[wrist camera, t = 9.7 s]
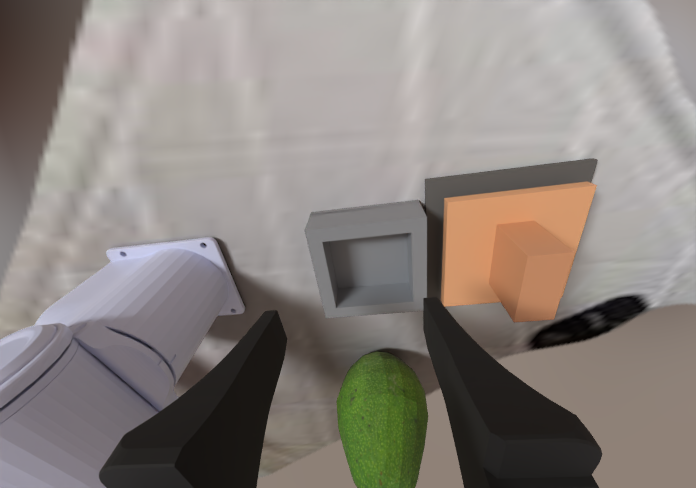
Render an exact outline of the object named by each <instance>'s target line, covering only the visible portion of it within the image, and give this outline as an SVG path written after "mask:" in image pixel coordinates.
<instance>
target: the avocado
mask: <svg viewBox="0 0 696 488" xmlns="http://www.w3.org/2000/svg"><path fill="white" fill-rule="evenodd" d="M337 414H338V428H339V432H340V436H341V440H342V443H343V447H344V451H345V454H346V458H347V461H348V464H349V468H350V471H351V474H352V477H353V480H354V483H355V485H356V486H357V488H415V486H416V483H417V479H418V475H419V469H420V464H421V460H422V455H423V450H424V445H425V437H426V430H427V422H428V412H427V404H426V397H425V392H424V389H423V387H422V386H421V384H420V382H419V380H418V378H417V376H416V374H415V372H414V371H413V370H412V369H411V368H410V367H409V366H408V365H406V364H405V363H404V362H403V361H402V360H401V359H399V358H397V357H396V356H394V355H392V354H390V353H387V352H372V353H369V354H366V355H364V356H362V357H361V358H360V359H359V360H358V361H357V362H356V363H354V364H353V365H352V366H351V368H350V369H349V371H348V373H347V375H346V377H345V379H344V381H343V384H342V387H341V390H340V393H339V396H338V398H337Z"/></svg>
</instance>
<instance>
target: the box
mask: <svg viewBox="0 0 696 488" xmlns="http://www.w3.org/2000/svg"><path fill="white" fill-rule="evenodd" d="M305 234H306V238H307V242H308V247H309V251H310V255H311V259H312V263H313V267H314V271H315V276H316V280H317V284H318V288H319V292H320V296H321V300H322V305H323V309H324V313H325V317H326V318H337V317H349V316H362V315H375V314H387V313H400V312H413V311H423V298H427V216H426V214H425V212H424V210H423V208H422V206H421V204H420V202H419V201H418V200H414V201H405V202H397V203H388V204H380V205H371V206H362V207H354V208H345V209H337V210H328V211H319V212H311V214H310V217H309V220H308V223H307V225H306V228H305Z"/></svg>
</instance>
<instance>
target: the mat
mask: <svg viewBox="0 0 696 488" xmlns="http://www.w3.org/2000/svg"><path fill="white" fill-rule="evenodd" d="M597 161H598V160H597V159H585V160H577V161H568V162H560V163H552V164H544V165H536V166H528V167H520V168H512V169H503V170H495V171H487V172H479V173H471V174H463V175H455V176H447V177H438V178H430V179H425V214H426V216H427V298H431V297H437V298H438V299H439V300H440V301H441V285H442V255H443V226H444V198H450V197H458V196H467V195H475V194H484V193H493V192H501V191H510V190H519V189H527V188H536V187H544V186H553V185H562V184H570V183H579V182H590V183H591V181H592V177H593V174H594V171H595V167H596V164H597Z"/></svg>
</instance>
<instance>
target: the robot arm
mask: <svg viewBox="0 0 696 488" xmlns="http://www.w3.org/2000/svg"><path fill="white" fill-rule="evenodd" d="M203 243H205V244H206V245H207V246H205V245H204V244H203ZM124 252H125V253H126V254H125V253H124ZM106 255H107V257H108V258H109V260H110V261H111V262H110V263H109V264H108V265H106V266H105V267H103V268H102V269H101V270H99V271H98V272H97V273H95V274H94V275H92V276H91V277H90V278H88V279H87V280H86V281H84V282H83V283H81V284H80V285H79V286H77V287H76V288H74V289H73V290H72V291H70V292H69V293H68V294H66V295H65V296H63V297H62V298H61V299H59V300H58V301H57V302H55V303H54V304H52V305H51V306H50V307H49V308H48V309H46V310H45V311H44V312H43V313H42V315H41V316H40V317H39V319H38V320H37V322H36V323H35V325H34V326H31V327H27V328H24V329H22V330H19V331H17V332H15V333H12V334H10V335H8V336H6V337H4V338H2V339H0V488H256V486H257V479H258V472H259V465H260V459H261V453H262V447H263V441H264V435H265V430H266V424H267V419H268V414H269V410H270V406H271V402H272V399H273V395H274V392H275V388H276V385H277V382H278V378H279V375H280V371H281V368H282V364H283V361H284V356H285V350H286V343H287V337H286V334H285V331H284V328H283V326H282V323H281V320H280V317H279V314H278V311H277V310H275V311H265V312H264V314H263V315H262V316H261V317H260V318H259V319H258V321H257V322H256V323H255V324H254V325H253V326H252V328H251V329H250V330H249V331H248V332H247V334H246V335H245V336H244V337H243V338H242V339H241V340H240V342H239V343H238V344H237V345H236V346H235V347H234V348H233V349H232V350H231V351H230V352H229V353H228V355H227V356H226V357H225V358H224V359H223V360H222V361H221V362H220V363H219V364H218V365H217V366H216V367H215V368H214V369H213V370H211V371H210V372H209V373H208V374H207V375H206V376H205V377H204V378H203V379H201V380H200V381H199V382H198V383H197V384H195V385H194V386H193V387H192V388H190V389H189V390H188V391H187V392H186V393H184V394H183V395H182V396H181V397H178V396H177V395H176V393H175V392H174V387H175V385H176V384H177V382H178V380H179V379H180V377H181V375H182V374H183V372H184V370H185V369H186V367H187V365H188V364H189V362H190V360H191V359H192V357H193V355H194V354H195V352H196V350H197V349H198V347H199V345H200V344H201V342H202V340H203V339H204V337H205V336H206V334H207V332H208V331H209V329H210V327H211V326H212V324H213V322H214V321H215V319H216V317H217V316H223V315H235V314H242V313H244V311H245V306H244V304H243V302H242V299H241V297H240V295H239V292H238V290H237V288H236V285H235V283H234V280H233V278H232V276H231V273H230V271H229V269H228V266H227V264H226V262H225V259H224V257H223V254H222V252H221V250H220V247H219V245H218V243H217V241H216V240H215V239H214V238H211V237H208V238H199V239H190V240H181V241H172V242H163V243H154V244H145V245H136V246H127V247H118V248H111V249H109V250H108V251H107V252H106ZM234 309H235V310H234ZM423 319H424V333H425V338H426V343H427V347H428V351H429V354H430V357H431V360H432V363H433V366H434V369H435V372H436V375H437V378H438V381H439V384H440V387H441V390H442V393H443V397H444V400H445V403H446V408H447V412H448V416H449V420H450V424H451V429H452V433H453V438H454V442H455V447H456V451H457V455H458V460H459V465H460V470H461V474H462V479H463V484H464V488H599V487H598V485H597V483H596V482H595V480H594V478H593V476H592V473H593V471H594V470H595V469H596V467H597V465H598V464H599V462H600V460H601V457H602V452H601V448H600V447H599V445H598V444H597V442H596V441H595V439H594V438H593V436H592V435H591V434H590V432H589V431H588V430H587V428H586V427H585V426H584V424H583V423H582V422H581V421H580V420H579V418H578V417H577V416H576V415H575V414H572V413H571V412H570V411H568V410H566V409H565V408H563V407H561V406H559V405H558V404H556V403H554V402H553V401H551V400H549V399H548V398H546V397H545V396H543V395H542V394H540V393H539V392H537V391H536V390H534V389H532V388H531V387H530V386H528V385H527V384H526V383H524V382H523V381H521V380H520V379H519V378H517V377H516V376H515V375H513V374H512V373H510V372H509V371H508V370H507V369H505V368H504V367H503V366H502V365H501V364H499V363H498V362H497V361H496V360H495V359H493V358H492V357H491V356H490V355H489V354H488V353H487V352H486V351H484V350H483V349H482V348H481V347H480V346H479V345H478V344H477V343H476V342H475V341H474V340H473V339H472V338H471V337H470V336H469V335H468V334H467V333H466V332H465V330H464V329H463V328H462V327H461V326H460V325H459V324H458V323H457V322H456V320H455V319H454V318H453V317H452V316H451V314H450V313H449V312H448V311H447V309H446V308H445V307H444V305H443V304H442V303H441V301H440V300H439V299H438V298H437V297H431V298H423Z"/></svg>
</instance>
